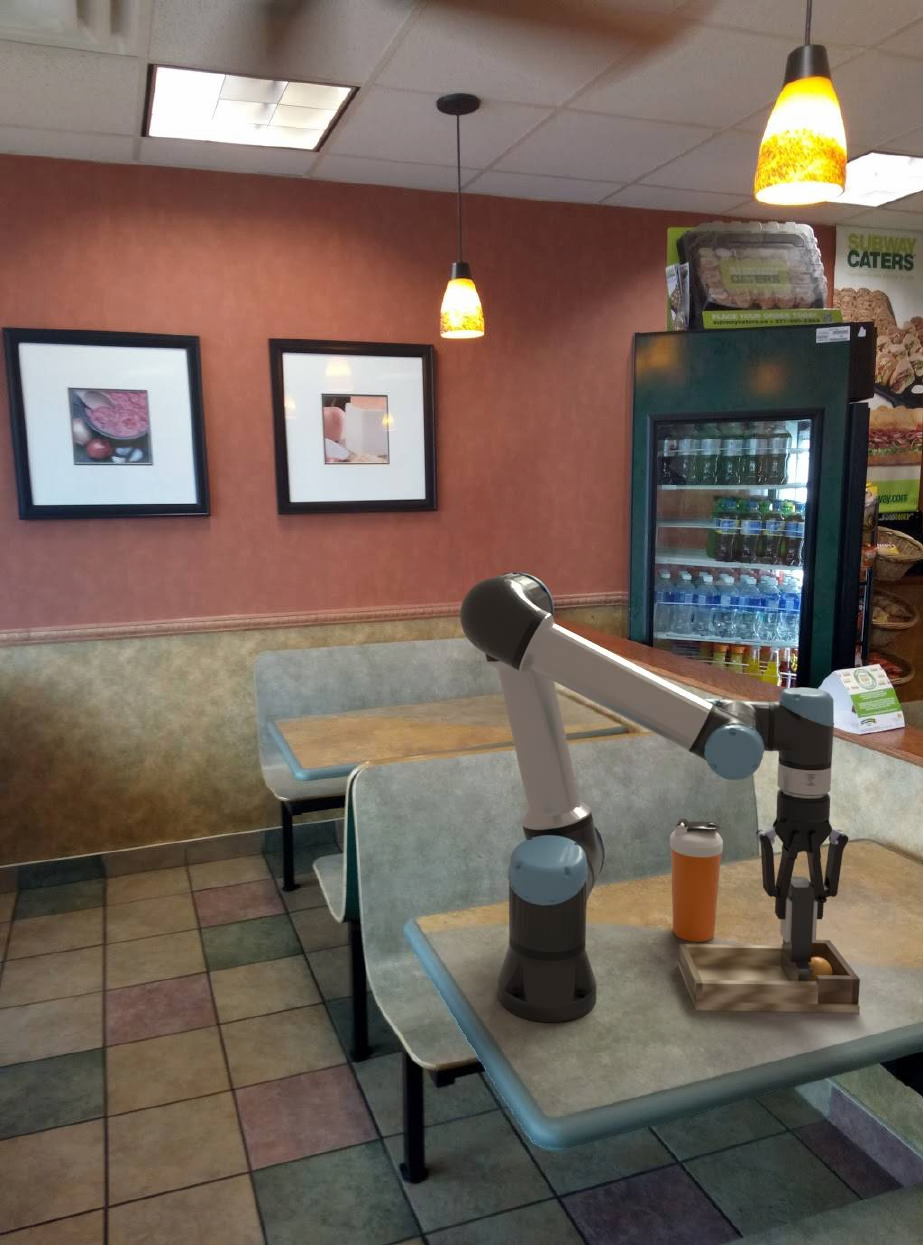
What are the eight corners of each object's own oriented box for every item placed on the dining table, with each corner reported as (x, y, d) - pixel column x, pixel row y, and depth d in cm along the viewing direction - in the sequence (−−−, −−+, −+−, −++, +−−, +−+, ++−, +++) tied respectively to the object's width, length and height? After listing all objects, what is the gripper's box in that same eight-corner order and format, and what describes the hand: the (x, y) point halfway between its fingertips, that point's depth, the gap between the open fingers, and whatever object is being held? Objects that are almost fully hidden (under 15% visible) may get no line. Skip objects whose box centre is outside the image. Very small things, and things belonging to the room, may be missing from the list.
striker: (794, 993, 136) (799, 893, 133) (777, 966, 144) (781, 871, 141) (814, 994, 135) (819, 893, 133) (796, 967, 143) (801, 871, 141)
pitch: (696, 1010, 134) (697, 978, 133) (678, 965, 147) (679, 936, 146) (859, 1012, 133) (861, 981, 132) (826, 967, 146) (828, 938, 145)
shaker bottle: (721, 947, 153) (725, 834, 150) (667, 942, 154) (671, 830, 152) (717, 923, 161) (721, 816, 159) (666, 919, 163) (669, 813, 160)
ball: (814, 992, 138) (806, 969, 137) (805, 979, 142) (797, 956, 141) (839, 985, 137) (832, 961, 137) (829, 971, 141) (822, 949, 141)
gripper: (756, 799, 132) (751, 949, 135) (868, 799, 131) (860, 950, 134) (742, 783, 139) (738, 926, 143) (848, 783, 139) (841, 927, 142)
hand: (797, 937), depth 138 cm, fingers closed on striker, 3 cm apart
